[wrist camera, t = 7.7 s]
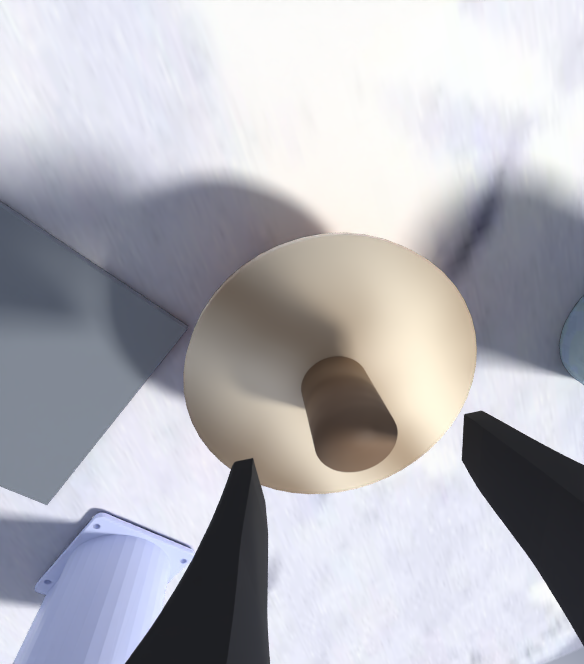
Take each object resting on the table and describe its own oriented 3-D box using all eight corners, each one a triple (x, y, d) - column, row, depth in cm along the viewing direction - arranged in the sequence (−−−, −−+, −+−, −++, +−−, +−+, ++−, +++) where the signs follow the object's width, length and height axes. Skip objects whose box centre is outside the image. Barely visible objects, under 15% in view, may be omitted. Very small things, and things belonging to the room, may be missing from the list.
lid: (339, 514, 20) (360, 595, 16) (129, 405, 16) (89, 481, 12) (520, 350, 17) (600, 402, 13) (317, 156, 13) (348, 148, 9)
